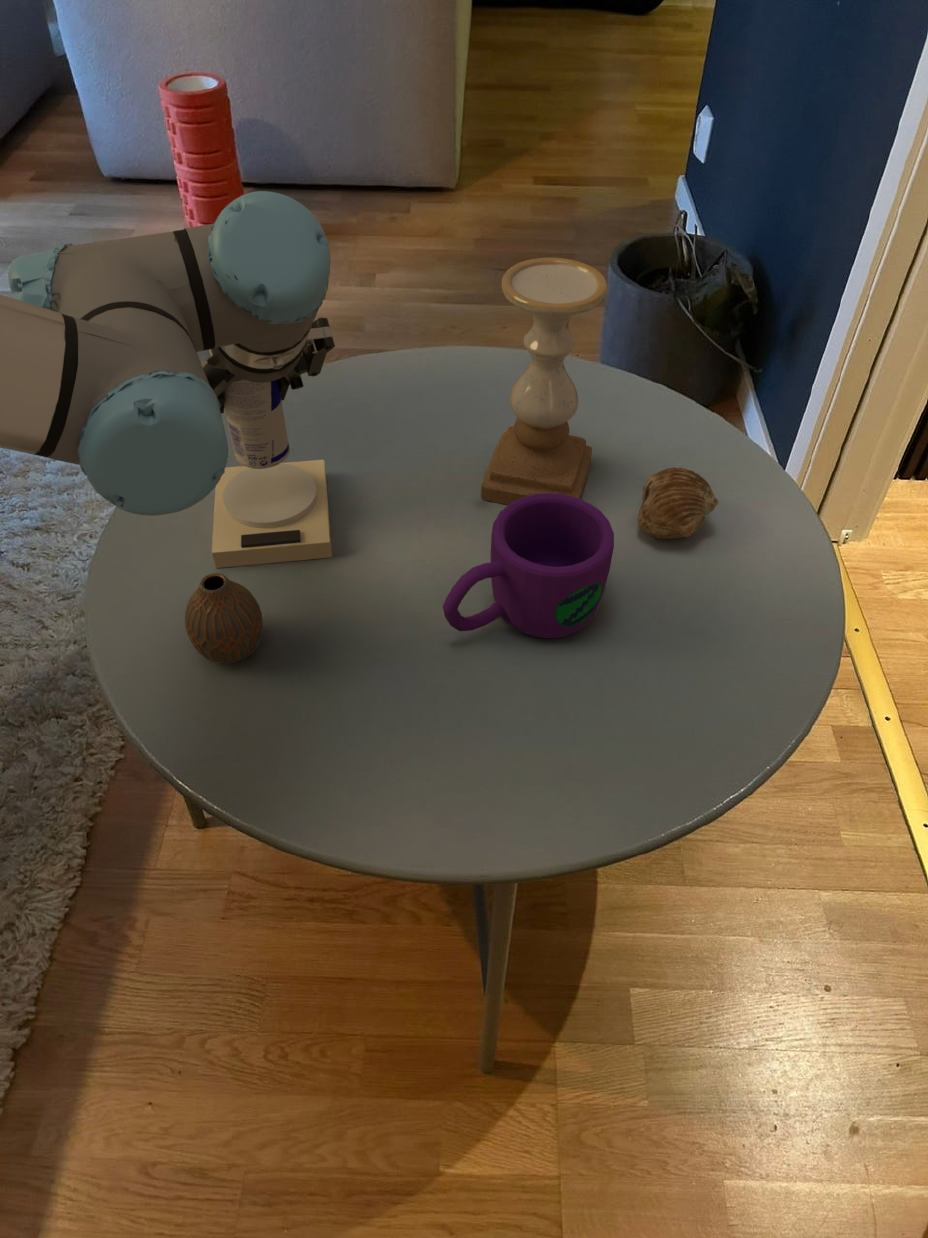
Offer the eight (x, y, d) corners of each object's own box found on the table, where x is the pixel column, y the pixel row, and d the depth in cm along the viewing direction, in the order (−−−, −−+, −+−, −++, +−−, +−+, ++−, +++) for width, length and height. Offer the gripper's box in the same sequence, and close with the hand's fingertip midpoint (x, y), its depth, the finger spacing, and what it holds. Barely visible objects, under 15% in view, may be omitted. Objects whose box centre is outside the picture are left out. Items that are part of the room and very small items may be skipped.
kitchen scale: (215, 568, 94) (210, 546, 92) (220, 483, 103) (215, 462, 101) (332, 557, 95) (329, 536, 93) (326, 474, 104) (323, 453, 102)
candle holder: (575, 517, 100) (602, 316, 82) (479, 499, 102) (485, 299, 84) (592, 458, 107) (619, 262, 89) (502, 443, 109) (511, 248, 91)
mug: (559, 551, 96) (568, 476, 89) (625, 619, 89) (641, 544, 82) (415, 612, 90) (412, 537, 82) (475, 690, 83) (477, 616, 76)
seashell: (711, 512, 102) (641, 492, 103) (730, 461, 96) (657, 440, 98) (698, 563, 95) (624, 541, 96) (718, 511, 90) (640, 488, 91)
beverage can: (298, 462, 94) (277, 329, 83) (247, 478, 92) (218, 345, 81) (278, 434, 97) (255, 302, 86) (228, 449, 95) (198, 317, 84)
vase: (182, 667, 85) (159, 602, 78) (213, 615, 89) (194, 549, 83) (251, 681, 84) (234, 616, 77) (278, 627, 88) (265, 562, 82)
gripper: (152, 395, 68) (165, 450, 90) (386, 347, 73) (344, 410, 95) (123, 296, 67) (143, 376, 90) (361, 254, 72) (324, 340, 95)
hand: (246, 394), depth 92 cm, fingers closed on beverage can, 6 cm apart
